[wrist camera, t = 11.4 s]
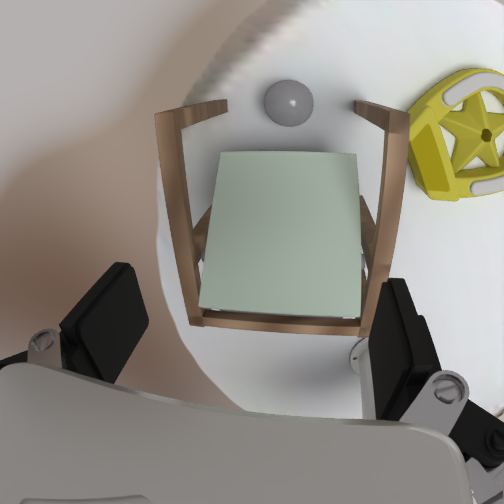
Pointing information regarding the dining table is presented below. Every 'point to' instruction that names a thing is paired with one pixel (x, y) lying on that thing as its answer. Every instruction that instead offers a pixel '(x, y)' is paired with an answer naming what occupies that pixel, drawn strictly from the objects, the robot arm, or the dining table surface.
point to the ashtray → (457, 137)
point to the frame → (193, 240)
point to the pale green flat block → (284, 235)
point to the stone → (288, 103)
